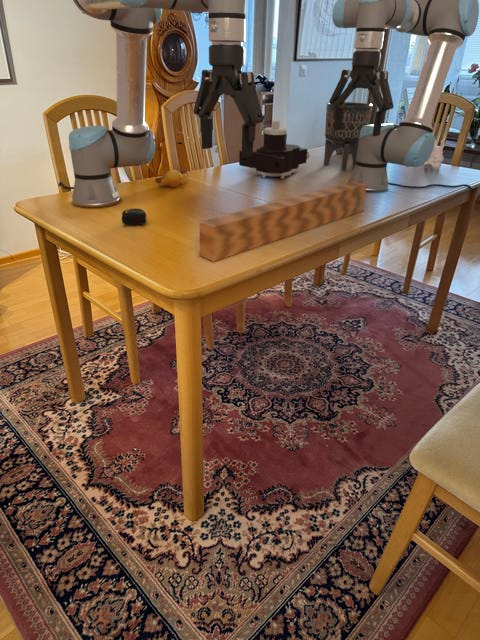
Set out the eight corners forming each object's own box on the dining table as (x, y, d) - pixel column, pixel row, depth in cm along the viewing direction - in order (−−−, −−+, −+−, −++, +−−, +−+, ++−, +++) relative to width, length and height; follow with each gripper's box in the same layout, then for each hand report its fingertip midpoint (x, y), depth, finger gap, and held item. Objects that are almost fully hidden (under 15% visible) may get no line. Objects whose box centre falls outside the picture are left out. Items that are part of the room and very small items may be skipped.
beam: (349, 207, 153) (353, 181, 149) (362, 211, 150) (366, 184, 146) (200, 255, 114) (199, 221, 109) (213, 261, 111) (213, 227, 106)
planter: (313, 167, 208) (319, 103, 195) (331, 160, 222) (338, 101, 209) (353, 173, 199) (362, 107, 185) (369, 166, 213) (379, 104, 199)
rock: (349, 150, 248) (350, 137, 244) (362, 152, 242) (364, 139, 239) (333, 152, 240) (335, 139, 237) (346, 155, 235) (348, 142, 231)
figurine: (444, 167, 214) (450, 138, 207) (436, 172, 203) (443, 142, 197) (426, 165, 218) (432, 136, 211) (417, 170, 207) (424, 140, 200)
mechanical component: (240, 120, 182) (283, 115, 202) (239, 174, 192) (280, 164, 212) (283, 126, 170) (325, 120, 190) (280, 183, 180) (320, 171, 200)
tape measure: (122, 227, 131) (120, 215, 129) (123, 220, 136) (122, 208, 135) (146, 227, 132) (145, 214, 130) (147, 219, 137) (145, 207, 136)
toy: (151, 179, 167) (162, 169, 180) (158, 195, 170) (169, 185, 183) (178, 169, 164) (188, 160, 177) (185, 186, 167) (194, 176, 180)
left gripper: (175, 43, 98) (180, 146, 109) (257, 43, 83) (253, 163, 94) (202, 44, 103) (203, 143, 114) (284, 44, 88) (277, 159, 98)
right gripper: (322, 49, 130) (315, 129, 141) (401, 50, 115) (386, 139, 126) (338, 50, 135) (329, 127, 145) (416, 51, 119) (400, 136, 130)
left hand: (226, 152), depth 104 cm, fingers open, 13 cm apart
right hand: (356, 133), depth 136 cm, fingers open, 13 cm apart
